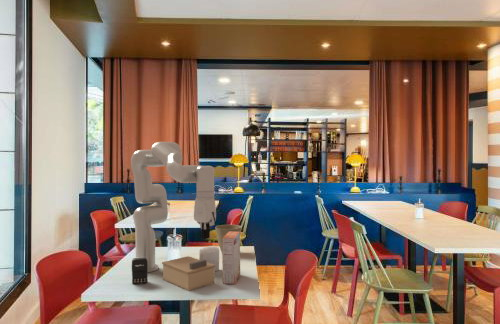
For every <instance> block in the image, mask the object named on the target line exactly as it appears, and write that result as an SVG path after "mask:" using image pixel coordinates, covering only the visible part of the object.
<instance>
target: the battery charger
mask: <svg viewBox="0 0 500 324" xmlns="http://www.w3.org/2000/svg"><path fill="white" fill-rule="evenodd" d="M148 276H149V272H148V259H147V258H146V257H136V256H135V257H134V258H132V260H131V283H132V285H143V284H147V283H148V282H149V281H148V280H149V279H148Z"/></svg>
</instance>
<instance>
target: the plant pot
mask: <svg viewBox="0 0 500 324" xmlns="http://www.w3.org/2000/svg"><path fill="white" fill-rule="evenodd" d="M214 229H215V233H216V239H217V242H218V246H219V247H218V248H219V250H220V252H221V253H222V238H223V237H224V236H225V235H226V234H227V233H228V232H230V231H233V232H240V233H241V231H242V230H241V229H242V226H241V225H238V224H221V225H216V226H215V228H214Z"/></svg>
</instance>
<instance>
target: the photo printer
mask: <svg viewBox="0 0 500 324" xmlns="http://www.w3.org/2000/svg"><path fill="white" fill-rule="evenodd" d="M198 260H207V263H210V264H213V265H215V267H214V272H218V271H220V247H218V246H215V245H209V246H205V247H202V248H200V250H199V258H198Z"/></svg>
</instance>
